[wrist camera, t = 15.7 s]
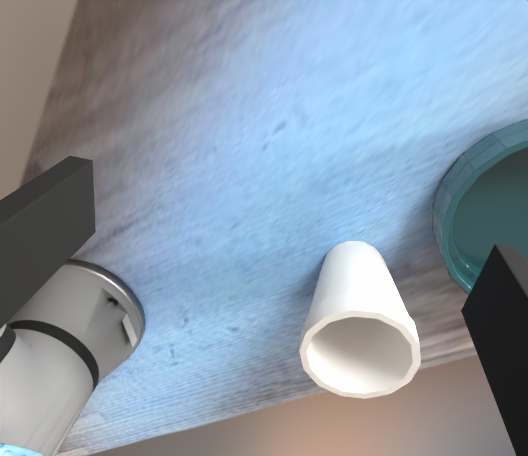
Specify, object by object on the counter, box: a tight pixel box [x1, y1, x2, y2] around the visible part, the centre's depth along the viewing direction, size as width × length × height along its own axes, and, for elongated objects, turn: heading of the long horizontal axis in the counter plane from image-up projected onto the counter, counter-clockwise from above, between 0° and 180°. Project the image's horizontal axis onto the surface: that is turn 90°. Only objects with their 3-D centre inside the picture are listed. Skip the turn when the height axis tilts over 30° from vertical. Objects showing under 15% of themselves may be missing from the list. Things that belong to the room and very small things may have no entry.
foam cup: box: [299, 241, 421, 399], centre depth 40 cm, size 10×9×13 cm
